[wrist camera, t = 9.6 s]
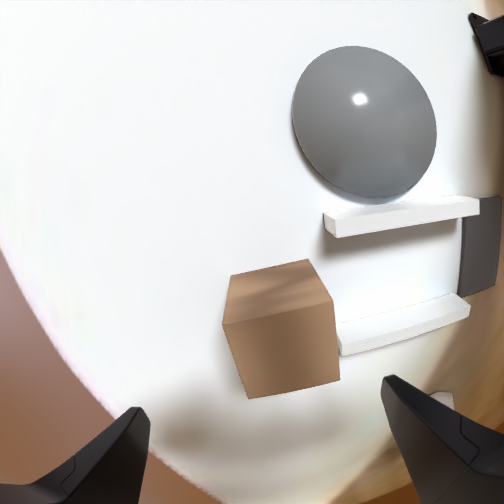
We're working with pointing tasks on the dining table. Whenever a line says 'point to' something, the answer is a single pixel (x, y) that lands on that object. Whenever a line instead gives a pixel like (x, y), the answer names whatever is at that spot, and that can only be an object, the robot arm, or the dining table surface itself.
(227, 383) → the dining table surface
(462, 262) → the pad
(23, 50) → the dining table surface
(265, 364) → the block
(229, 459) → the dining table surface
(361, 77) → the coaster
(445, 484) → the robot arm
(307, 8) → the dining table surface
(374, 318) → the trough
